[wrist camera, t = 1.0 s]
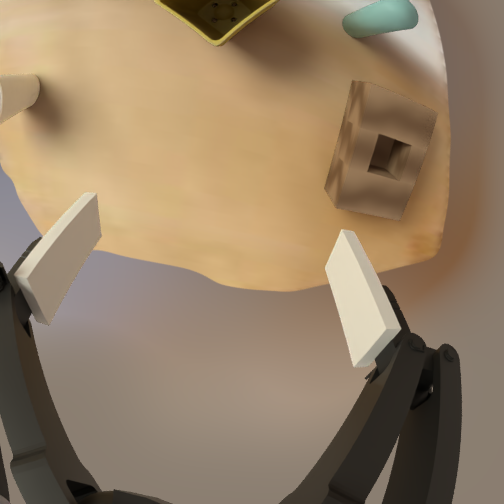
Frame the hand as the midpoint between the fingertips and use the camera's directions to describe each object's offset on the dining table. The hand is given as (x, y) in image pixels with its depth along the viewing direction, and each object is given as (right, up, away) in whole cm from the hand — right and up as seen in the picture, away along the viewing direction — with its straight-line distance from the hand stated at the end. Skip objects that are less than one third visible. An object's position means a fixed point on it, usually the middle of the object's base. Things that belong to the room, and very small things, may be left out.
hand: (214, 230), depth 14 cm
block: (+18, +14, +19) cm, 30 cm away
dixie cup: (-32, +24, +11) cm, 42 cm away
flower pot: (-1, +27, +9) cm, 29 cm away
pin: (+15, +27, +9) cm, 32 cm away
